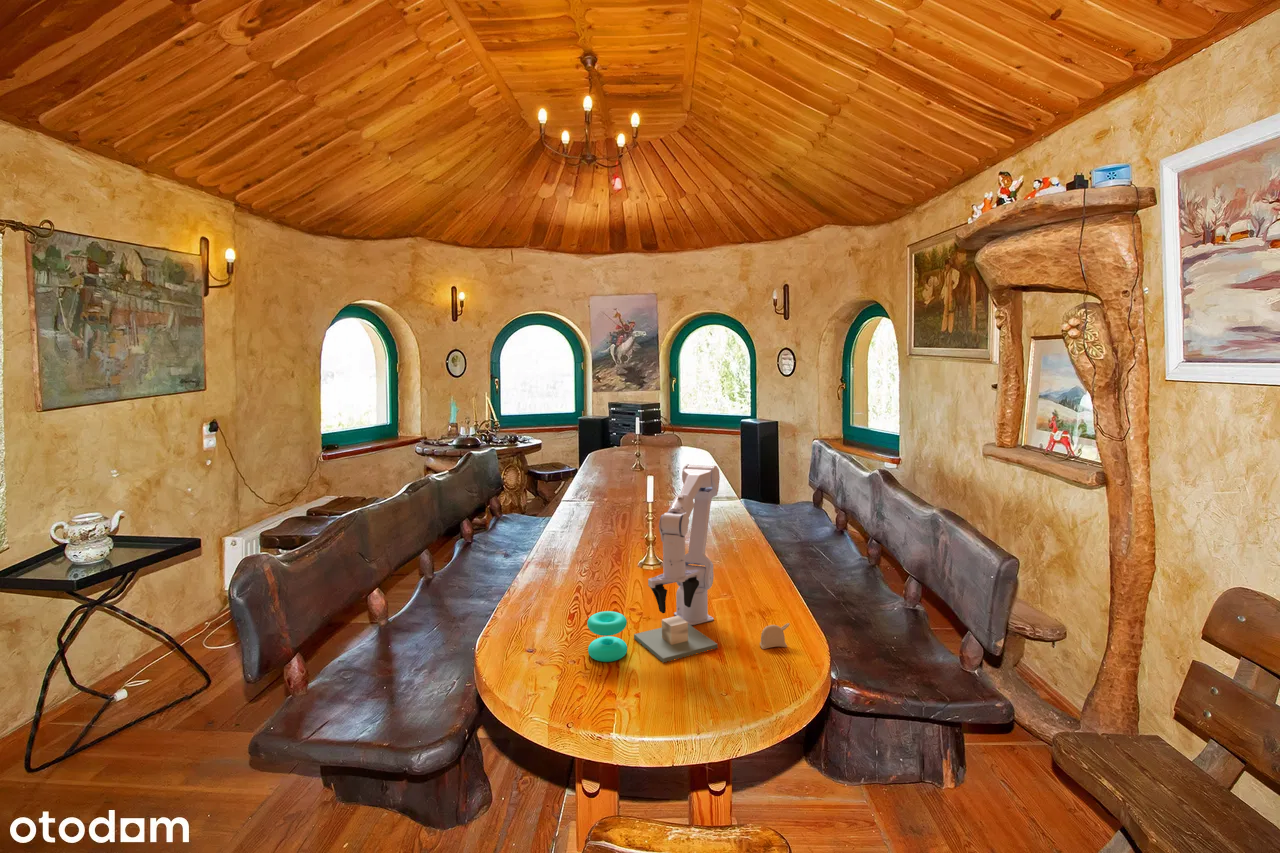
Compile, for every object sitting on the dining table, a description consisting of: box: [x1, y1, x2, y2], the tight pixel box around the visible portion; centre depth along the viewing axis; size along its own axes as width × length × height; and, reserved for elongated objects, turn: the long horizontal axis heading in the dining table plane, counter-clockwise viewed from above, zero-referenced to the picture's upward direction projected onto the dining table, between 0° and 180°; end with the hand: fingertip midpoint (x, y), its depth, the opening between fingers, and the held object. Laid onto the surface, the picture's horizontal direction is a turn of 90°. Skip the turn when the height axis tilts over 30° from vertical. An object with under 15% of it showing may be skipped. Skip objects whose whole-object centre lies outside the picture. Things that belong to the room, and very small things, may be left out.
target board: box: [633, 624, 719, 664], centre depth 177 cm, size 16×16×1 cm
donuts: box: [586, 610, 628, 663], centre depth 171 cm, size 10×10×10 cm
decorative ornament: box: [759, 622, 791, 650], centre depth 175 cm, size 4×8×5 cm, turn 98°
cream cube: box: [661, 615, 688, 645], centre depth 176 cm, size 5×5×5 cm
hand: (675, 608), depth 176 cm, fingers open, 7 cm apart
